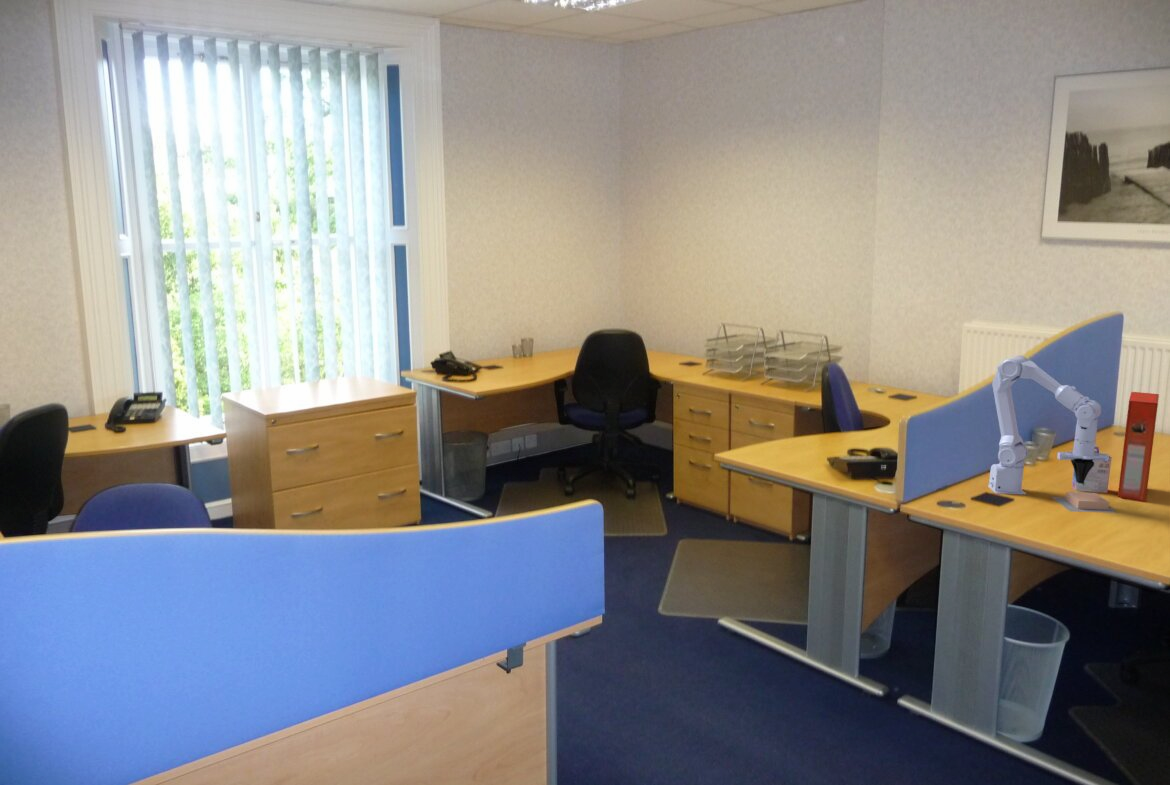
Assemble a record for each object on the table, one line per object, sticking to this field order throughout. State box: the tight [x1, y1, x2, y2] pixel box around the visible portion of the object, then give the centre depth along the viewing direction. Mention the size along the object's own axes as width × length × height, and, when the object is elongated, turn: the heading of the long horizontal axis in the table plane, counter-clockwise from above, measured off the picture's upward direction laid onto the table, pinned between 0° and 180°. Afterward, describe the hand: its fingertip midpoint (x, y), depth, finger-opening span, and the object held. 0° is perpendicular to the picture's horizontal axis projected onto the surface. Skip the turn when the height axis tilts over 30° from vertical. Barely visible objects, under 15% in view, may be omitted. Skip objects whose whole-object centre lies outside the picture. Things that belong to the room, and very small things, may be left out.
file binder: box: [1117, 391, 1160, 503], centre depth 299 cm, size 8×17×32 cm, turn 148°
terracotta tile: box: [1065, 491, 1110, 510], centre depth 289 cm, size 3×9×9 cm
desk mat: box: [1051, 496, 1118, 514], centre depth 290 cm, size 14×14×1 cm
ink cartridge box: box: [1071, 446, 1112, 494], centre depth 304 cm, size 10×6×14 cm, turn 78°
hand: (1079, 482), depth 288 cm, fingers closed
